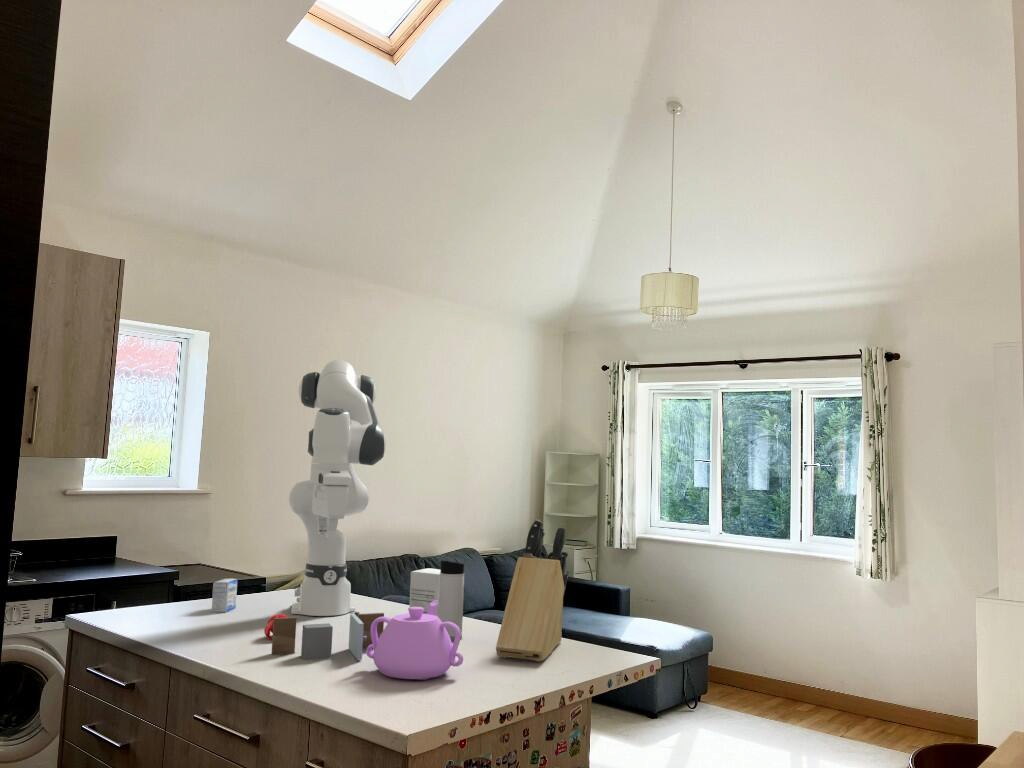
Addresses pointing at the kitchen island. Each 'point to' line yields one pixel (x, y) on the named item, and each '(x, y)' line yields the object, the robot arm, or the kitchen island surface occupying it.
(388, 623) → the teapot
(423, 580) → the supplement box
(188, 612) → the kitchen island surface
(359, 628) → the door
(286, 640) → the door frame
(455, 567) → the travel mug
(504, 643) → the knife block
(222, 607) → the medicine box
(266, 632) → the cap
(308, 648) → the block
